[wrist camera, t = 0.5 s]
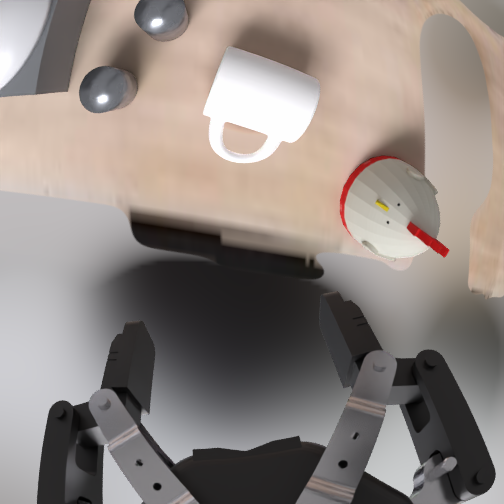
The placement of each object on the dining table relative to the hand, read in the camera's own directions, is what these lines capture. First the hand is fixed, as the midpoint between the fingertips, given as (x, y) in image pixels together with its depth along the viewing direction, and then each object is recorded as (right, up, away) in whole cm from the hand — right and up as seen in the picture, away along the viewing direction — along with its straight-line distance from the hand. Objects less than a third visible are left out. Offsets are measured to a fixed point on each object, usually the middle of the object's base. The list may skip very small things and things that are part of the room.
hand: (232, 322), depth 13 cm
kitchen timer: (+20, +11, +28) cm, 36 cm away
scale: (-28, +31, +8) cm, 43 cm away
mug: (0, +20, +19) cm, 28 cm away
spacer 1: (-15, +22, +15) cm, 31 cm away
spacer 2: (-9, +29, +12) cm, 33 cm away
